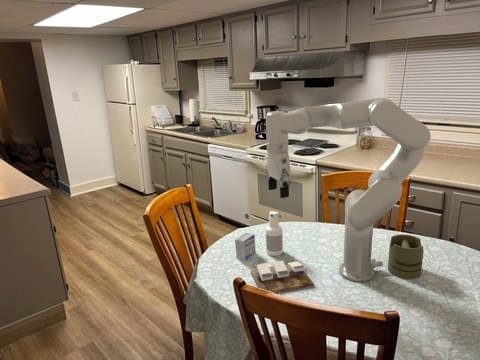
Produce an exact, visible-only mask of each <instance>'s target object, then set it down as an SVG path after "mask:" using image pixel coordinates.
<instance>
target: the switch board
mask: <svg viewBox="0 0 480 360" xmlns="http://www.w3.org/2000/svg"><path fill="white" fill-rule="evenodd" d="M284 264H285V266H286V268H287V270H288V272H289V276H287V277H281V278H278V276H277V274H276V272H275V269H274V267H273V265H272V266H269V268H270V270H271V273H272V275H273V279H270V280H264V281H262V280H261V277H260V274H259V272H258V269H257V268H255V269H250V274H251V277H252V278H253V280H254V283H255V285H256V287H257V289H258V288H261V289H264V290H267V291H271V292H274V293H273V294H276V293H283V292H289V291H294V290H300V289H305V288H312V287H314V284H315V283H314V282H313V280H312V279H311V278H310V276H309V275H308V273H307V272H306V270H304V271H298V272H294V271H293V270H292V269H291V268H290V267H289V266H288V263H284Z"/></svg>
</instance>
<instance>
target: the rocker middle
mask: <svg viewBox="0 0 480 360" xmlns="http://www.w3.org/2000/svg"><path fill="white" fill-rule="evenodd" d="M285 264H286V263H285V262H284V260H278V261H273V262H272V264H271V265H272V266H273V267H274V269H275V272H276V274H277V276H278V278H281V277H287V276H289V272H288V270H287V268H286V266H285Z"/></svg>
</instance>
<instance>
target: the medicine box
mask: <svg viewBox="0 0 480 360" xmlns="http://www.w3.org/2000/svg"><path fill="white" fill-rule="evenodd" d="M234 241H235V243H234V244H235V256H236V257H235V258H236V259H239V260H240V261H241V260H242V261H244V262H245V261H247V260H248V259H250V258H251V257H252V256H253V255H254V254H256V253H257V252H256V250H257V249H256V235H255V234H253V233H250V232H245V233H243V234H241V236H239V237H237V238H236V239H235V240H234Z"/></svg>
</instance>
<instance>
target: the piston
mask: <svg viewBox="0 0 480 360" xmlns="http://www.w3.org/2000/svg"><path fill="white" fill-rule="evenodd" d="M389 241H390V242H389V246H388V247H389V249H388V258H387V259H388V261H387V270H388V271H387V272H388V273H390V275H392V276H393V277H396V278H400V279H402V280H416V279H418V278H420V277H421V276H422V271H423V259H424V252H425V251H424V250H425V249H424V245H423V246H422V242H421V238H419V237H417V236H415V235H411V234H395V235H392V236H391V239H390V240H389Z"/></svg>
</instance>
